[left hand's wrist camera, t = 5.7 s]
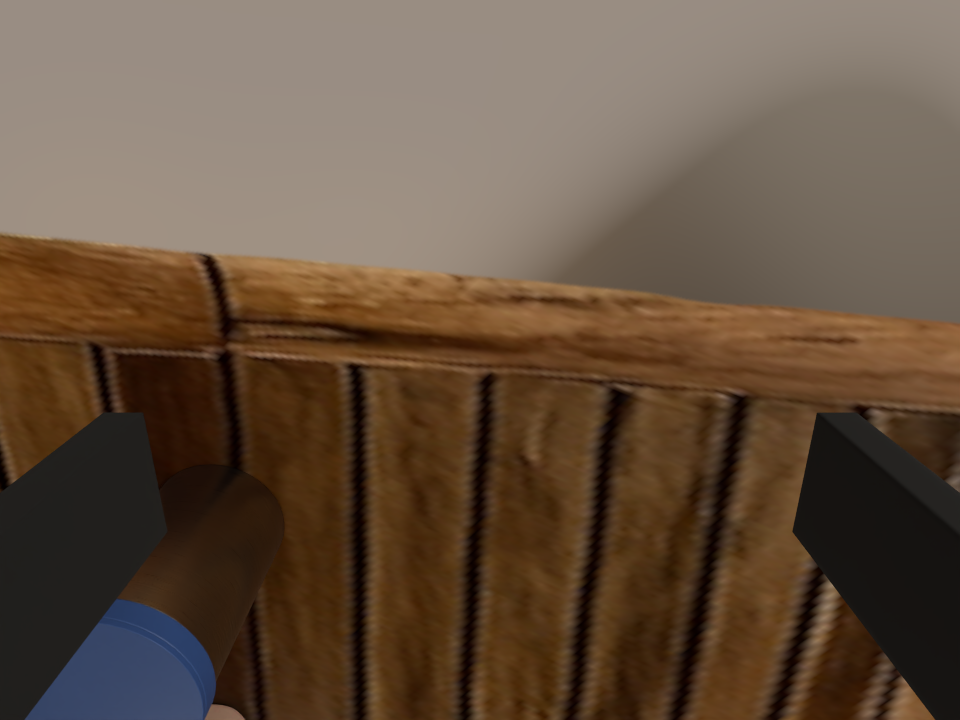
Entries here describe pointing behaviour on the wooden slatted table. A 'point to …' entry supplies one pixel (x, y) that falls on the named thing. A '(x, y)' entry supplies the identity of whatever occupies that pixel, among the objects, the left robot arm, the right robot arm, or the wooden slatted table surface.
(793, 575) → the wooden slatted table surface
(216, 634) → the jar
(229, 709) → the anatomical model
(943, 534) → the left robot arm
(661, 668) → the wooden slatted table surface
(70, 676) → the lid
